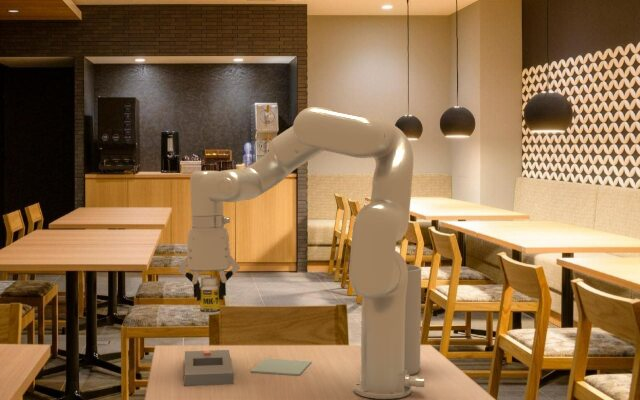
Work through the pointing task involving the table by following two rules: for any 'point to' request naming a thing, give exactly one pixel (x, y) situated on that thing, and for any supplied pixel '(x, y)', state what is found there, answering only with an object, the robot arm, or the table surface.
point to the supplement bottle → (209, 296)
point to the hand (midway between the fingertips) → (210, 298)
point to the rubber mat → (281, 367)
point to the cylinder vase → (412, 320)
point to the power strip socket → (208, 368)
